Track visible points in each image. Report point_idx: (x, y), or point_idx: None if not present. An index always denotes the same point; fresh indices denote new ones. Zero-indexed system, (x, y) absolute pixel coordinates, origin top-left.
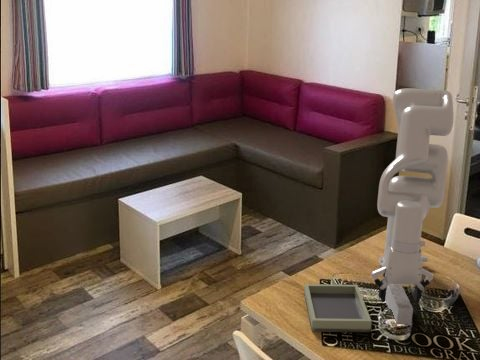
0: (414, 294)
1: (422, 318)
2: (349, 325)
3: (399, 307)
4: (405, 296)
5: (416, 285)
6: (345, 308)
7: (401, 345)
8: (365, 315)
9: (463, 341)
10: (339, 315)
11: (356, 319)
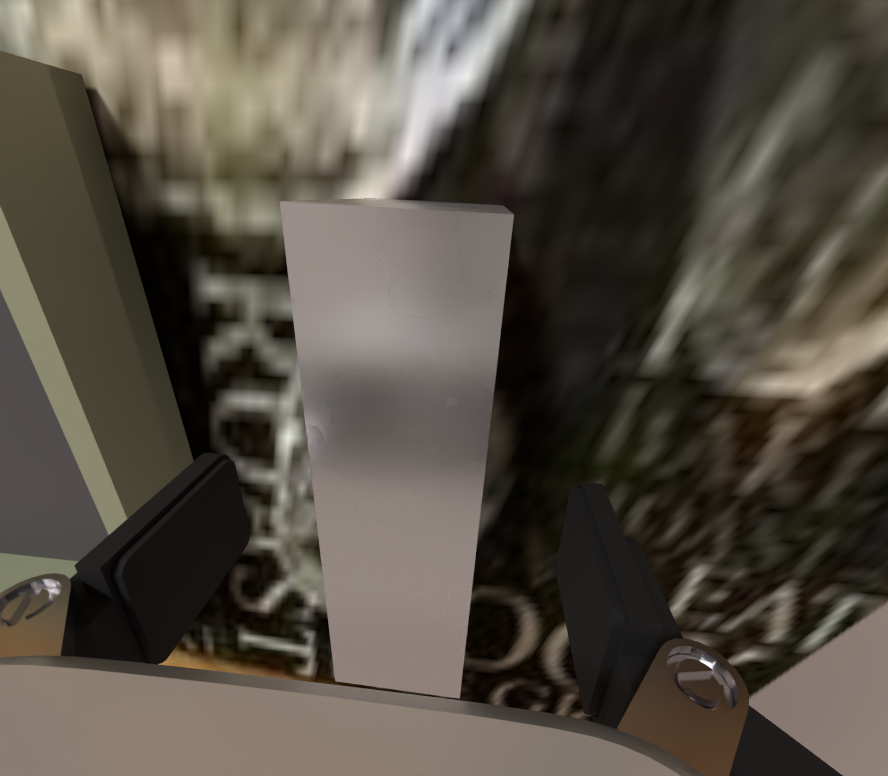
0: (579, 537)
1: (595, 470)
2: None
3: (344, 677)
4: (457, 544)
5: (628, 678)
6: (22, 383)
7: None
8: None
9: None
10: (9, 462)
11: None
